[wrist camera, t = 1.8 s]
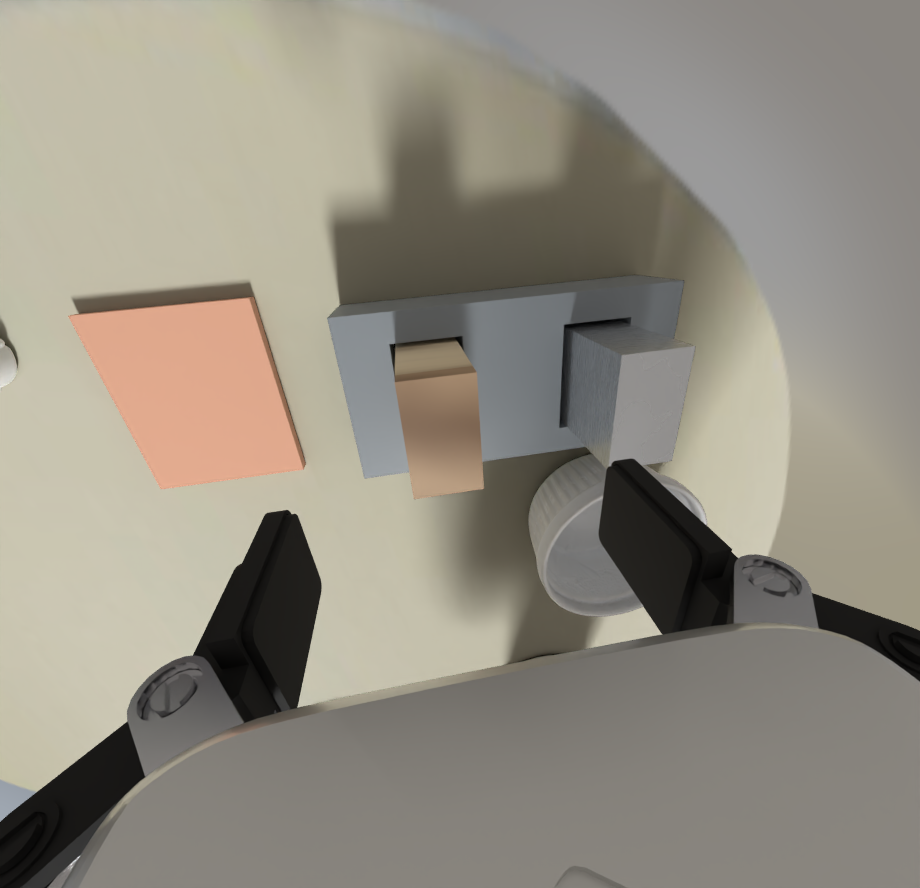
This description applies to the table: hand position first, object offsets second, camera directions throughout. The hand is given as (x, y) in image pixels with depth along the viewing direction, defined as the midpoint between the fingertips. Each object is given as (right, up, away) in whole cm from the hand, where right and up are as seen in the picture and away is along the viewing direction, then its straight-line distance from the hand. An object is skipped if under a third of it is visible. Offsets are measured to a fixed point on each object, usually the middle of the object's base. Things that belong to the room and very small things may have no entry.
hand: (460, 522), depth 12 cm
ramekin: (+12, -3, +24) cm, 26 cm away
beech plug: (-2, +8, +16) cm, 18 cm away
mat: (-17, +6, +14) cm, 23 cm away
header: (+3, +8, +16) cm, 18 cm away
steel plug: (+8, +9, +17) cm, 20 cm away
